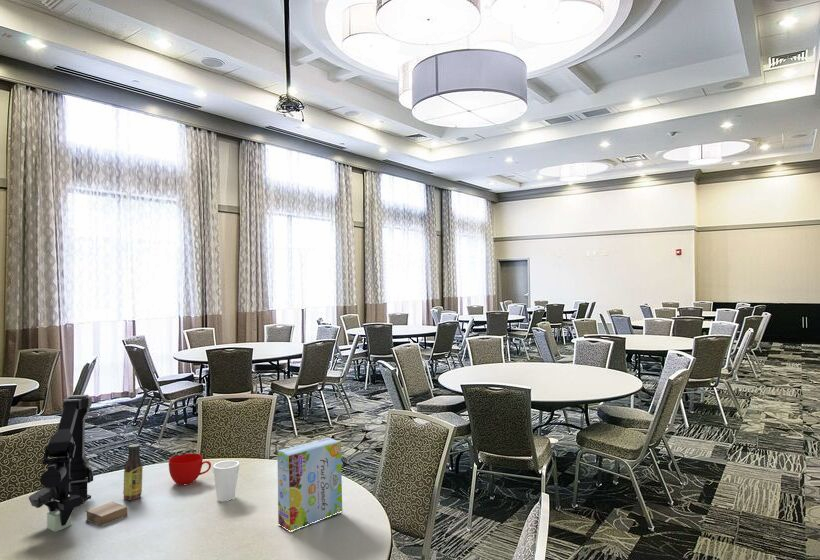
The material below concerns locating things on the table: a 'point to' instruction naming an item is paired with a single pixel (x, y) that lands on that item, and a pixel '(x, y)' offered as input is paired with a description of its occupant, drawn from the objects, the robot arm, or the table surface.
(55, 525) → the sage cube
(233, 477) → the foam cup
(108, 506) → the walnut block
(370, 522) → the table surface
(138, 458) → the sauce bottle
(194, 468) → the ceramic cup
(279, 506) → the snack box
